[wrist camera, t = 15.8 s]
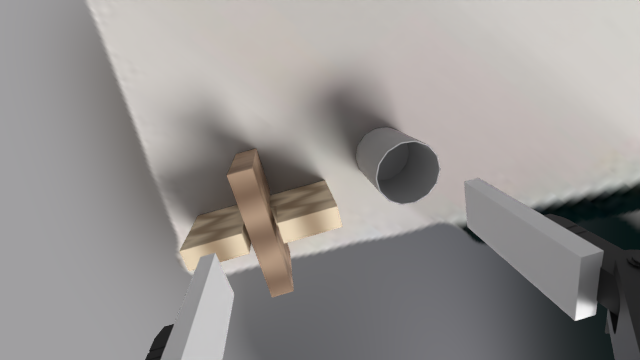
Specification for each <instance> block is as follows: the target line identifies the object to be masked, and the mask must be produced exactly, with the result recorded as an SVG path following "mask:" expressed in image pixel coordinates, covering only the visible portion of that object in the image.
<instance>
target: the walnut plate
mask: <svg viewBox="0 0 640 360" xmlns="http://www.w3.org/2000/svg"><path fill="white" fill-rule="evenodd" d="M227 178H228V180H229V183H230V186H231V188H232V191H233V194H234V197H235V199H236V202H237V205H238V207H239V210H240V213H241V215H242V218H243V221H244V223H245V226H246V229H247V231H248V234H249V237H250V240H251V242H252V245H253V248H254V250H255V253H256V256H257V258H258V261H259V264H260V266H261V269H262V272H263V274H264V277H265V280H266V282H267V285H268V288H269V291H270V293H271V296H272V297H275V296H278V295H282V294H285V293H288V292H292V291H294V290H293V280H292V269H291V259H290V250H289V247H288V244H287V243H285V244H284V242H283V239H282V236H281V233H280V230H279V227H278V225H276V222H275V219H274V216H273V213H272V210H271V207H270V189H269V186H268V183H267V180H266V176H265V173H264V170H263V167H262V164H261V161H260V158H259V155H258V152H257V149H252V150H248V151H245V152H241V153H237V154H236V155H235V158H234V160H233V162H232V164H231V167H230V169H229V171H228V173H227Z"/></svg>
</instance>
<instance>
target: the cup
mask: <svg viewBox="0 0 640 360" xmlns="http://www.w3.org/2000/svg"><path fill="white" fill-rule="evenodd" d="M356 161H357V164H358V167H359V169H360V170H361V172H362V173H363V174H364V175H365V176H366V177H367V178H368V179H369V181H370V182H371V183H372V184H373V185H374V186H375V187H376V188H377V189H378V191H379V192H380V193H381V194H382V195H383V196H384V197H385V198H386V199H387V200H388V201H390V202H393V203H397V204H400V205H405V204H411V203H416V202H418V201H419V200H421V199H423V198H424V197H426V196H427V195H429V193H430V192H431V191H432V189H433V188H434V187H435V185H436V184H437V181H438V177H439V173H440V164H439V159H438V155H437V154H436V153H435V152H434V151H433V149H432V148H431V147H430V146H429V145H427V144H425V143H423V142H421V141H419V140H417V139H414V138H412V137H410V136H408V135H406V134H404V133H402V132H400V131H397V130H394V129H392V128H389V127H383V128H375V129H374V130H372V131H371V132H369V133H367V134H366V135H364V137H363V138H362V140H361V141H360V143H359V144H358V146H357V152H356Z"/></svg>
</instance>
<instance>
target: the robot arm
mask: <svg viewBox="0 0 640 360" xmlns="http://www.w3.org/2000/svg"><path fill="white" fill-rule="evenodd" d="M464 186H465V199H466V213H467V226H468V228H469V229H471V230H472V231H473V232H474V233H475V234H476V235H477V236H479V237H480V238H481V239H482V240H483V241H484V242H485V243H487V244H488V245H489V246H490V247H491V248H492V249H493V250H495V251H496V252H497V253H498V254H499V255H500V256H501V257H503V258H504V259H505V260H506V261H507V262H509V263H510V264H511V265H512V266H513V267H514V268H515V269H516V270H517V271H519V272H520V273H521V274H522V275H523V276H524V277H526V278H527V279H528V280H529V281H530V282H531V283H532V284H534V285H535V286H536V287H537V288H538V289H539V290H540V291H542V292H543V293H544V294H545V295H546V296H547V297H548V298H550V299H551V300H552V301H553V302H554V303H555V304H556V305H558V306H559V307H560V308H561V309H562V310H563V311H564V312H566V313H567V314H568V315H569V316H570V317H572V319H574V320H575V321H576V320H579V319H583V318H586V317H589V316H592V315H596V308H597V301H598V302H599V303H601V304H602V305H603V306H605V307H606V308H607V309H608V314H607V321H606V328H605V333H607V334H609V332H610V335H611V341H612V346H613V351H614V357H615V360H640V250H625V251H624V250H622V249H620V248H619V247H617V246H615V245H613V244H611V243H609V242H608V241H606V240H604V239H602V238H601V237H599V236H597V235H595V234H593V233H591V232H588V231H587V230H586V229H584V228H582V227H580V226H577V224H575V223H573V222H571V221H569V220H568V219H566V218H563V217H559V216H556V215H553V214H548V215H544V216H543V215H541V214H540V213H538V212H536V211H535V210H533V209H531V208H529V207H528V206H526V205H524V204H523V203H521V202H519V201H517V200H516V199H514V198H512V197H511V196H509V195H507V194H505V193H504V192H502V191H500V190H499V189H497V188H495V187H493V186H492V185H490V184H488V183H487V182H485V181H483V180H481V179H480V178H476V179H472V180H469V181H465V182H464ZM233 298H234V293H233V291H232V288H231V286H230V284H229V282H228V280H227V277H226V275H225V273H224V271H223V268H222V266H221V264H220V262H219V260H218V257H217V255H216V253H212V254H209V255H205V256H202V257H200V259H199V262H198V264H197V267H196V270H195V272H194V275H193V277H192V280H191V282H190V285H189V288H188V290H187V293H186V295H185V298H184V301H183V303H182V306H181V308H180V311H179V313H178V316H177V319H176V321H175V324H172V325H169V326H165V327H164V328H163V329H162V330H161V331H160V333H159V334H158V335H157V336H156V338H155V339H154V341H153V344H152V346H151V348H150V350H149V351H150V352H149V353H148V355H147V357H146V359H145V360H222V359H223V353H224V348H225V342H226V337H227V331H228V326H229V320H230V315H231V309H232V304H233Z"/></svg>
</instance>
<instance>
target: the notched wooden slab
mask: <svg viewBox="0 0 640 360" xmlns="http://www.w3.org/2000/svg"><path fill="white" fill-rule="evenodd" d="M270 207H271V210H272V213H273V216H274V219H275V222H276V225H278V227H279V230H280V233H281V236H282V239H283V242H284V244H285V243H288V242H291V241H295V240H298V239H302V238H305V237H309V236H312V235H316V234H319V233H322V232H326V231H329V230H333V229H336V228H340V227H342V223H341V219H340V215H339V211H338V207H337V204H336V202H335V200H334V198H333V196H332V194H331V192H330V190H329V188H328V186H327V184H326V181H325V180H324V181H320V182H316V183H313V184H309V185H306V186H302V187H299V188H295V189H292V190H288V191H284V192H281V193H277V194H274V195H270ZM250 245H251V240H250V237H249V234H248V231H247V229H246V226H245V223H244V221H243V218H242V215H241V213H240V210H239V207H238V205H234V206H231V207H227V208H224V209H220V210H217V211H213V212H210V213H206V214H202V215H199V216H198V217H197V218H196V220H195V222H194V224H193V226H192V228H191V230H190V232H189V234H188V236H187V238H186V240H185V242H184V244H183V245H182V247H181V249H180V254H181V256H182V258H183V260H184V262H185V264H186V266H187V268H188V270H189V271H191V270H195V269H196V267H197V264H198V262H199V259H200V257H202V256H205V255H209V254H212V253H216V255H217V257H218V260H219V262H222V261H226V260H229V259H233V258H236V257H240V256H243V255H247V254H249V253H250Z"/></svg>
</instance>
